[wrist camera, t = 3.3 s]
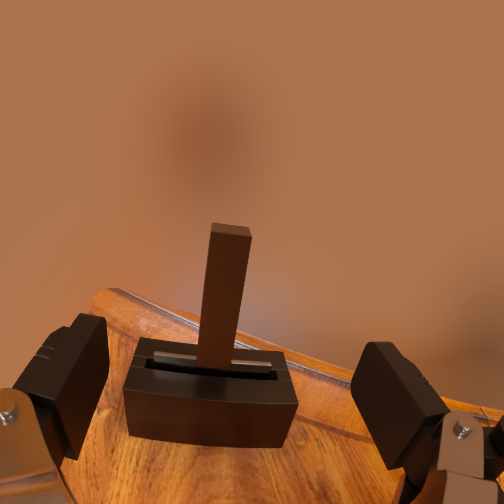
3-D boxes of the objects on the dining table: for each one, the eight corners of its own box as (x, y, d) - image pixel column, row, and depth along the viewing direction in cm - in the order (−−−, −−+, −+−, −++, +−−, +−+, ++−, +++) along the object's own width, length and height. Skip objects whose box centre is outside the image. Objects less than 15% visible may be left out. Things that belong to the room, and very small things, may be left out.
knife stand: (282, 447, 20) (298, 403, 19) (128, 435, 19) (122, 388, 17) (270, 395, 26) (283, 351, 25) (141, 383, 25) (140, 336, 23)
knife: (257, 428, 22) (304, 243, 18) (153, 420, 21) (156, 224, 16) (255, 411, 24) (296, 233, 19) (156, 402, 23) (163, 216, 18)
